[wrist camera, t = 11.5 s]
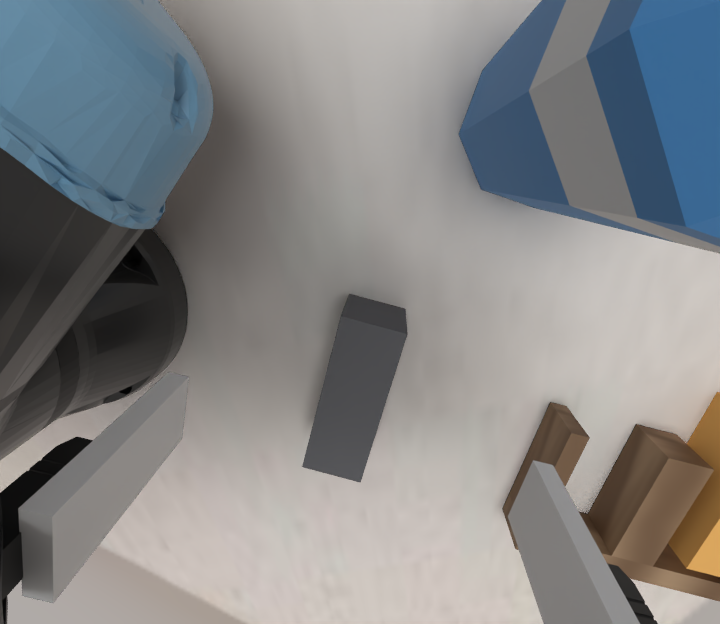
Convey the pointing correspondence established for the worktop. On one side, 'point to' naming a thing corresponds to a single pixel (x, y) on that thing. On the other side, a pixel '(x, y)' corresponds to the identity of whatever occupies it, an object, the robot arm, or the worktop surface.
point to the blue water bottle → (607, 116)
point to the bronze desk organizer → (631, 498)
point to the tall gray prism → (356, 387)
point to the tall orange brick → (703, 502)
